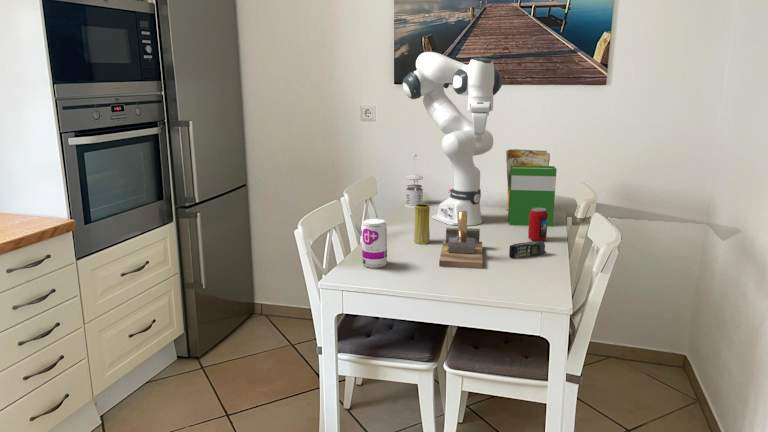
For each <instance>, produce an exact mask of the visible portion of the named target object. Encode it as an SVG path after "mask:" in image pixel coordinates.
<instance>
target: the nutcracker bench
mask: <svg viewBox="0 0 768 432" xmlns="http://www.w3.org/2000/svg"><path fill="white" fill-rule="evenodd" d="M480 230H481V229H480V228H471V227H470V228H469V227H467V238H475V253H453V252H448V244H449V237H458V227H446V228H445V239H443V242H442V246H441V251H440V254H439V255H440V256H439V261H438V262H439V263H438V266H439V267H443V268H445V267H446V268H466V269H467V268H468V269H483V241H480V236H481V235H480V234H481V231H480Z"/></svg>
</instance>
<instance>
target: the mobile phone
mask: <svg viewBox="0 0 768 432" xmlns="http://www.w3.org/2000/svg"><path fill="white" fill-rule="evenodd" d="M546 252H547V250H546V243H545V242H544V241H527V242H520V243H514V244H511V245H509V253H508V256H509V258H510V259H519V258H527V257H537V256H539V255H542V254H545V253H546Z"/></svg>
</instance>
